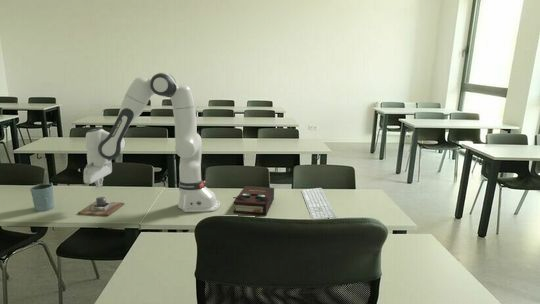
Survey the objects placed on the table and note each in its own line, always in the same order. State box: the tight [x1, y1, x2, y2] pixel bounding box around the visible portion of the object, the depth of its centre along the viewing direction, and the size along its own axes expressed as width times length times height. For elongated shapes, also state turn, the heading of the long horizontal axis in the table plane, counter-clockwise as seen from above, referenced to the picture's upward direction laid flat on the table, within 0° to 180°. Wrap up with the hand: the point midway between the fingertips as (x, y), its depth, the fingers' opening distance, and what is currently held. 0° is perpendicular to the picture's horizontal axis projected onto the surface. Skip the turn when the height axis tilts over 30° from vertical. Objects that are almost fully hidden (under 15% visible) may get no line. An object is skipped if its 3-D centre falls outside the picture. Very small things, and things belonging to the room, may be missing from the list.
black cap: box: [95, 196, 107, 207], centre depth 196 cm, size 4×4×5 cm
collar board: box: [77, 200, 125, 217], centre depth 196 cm, size 16×16×2 cm
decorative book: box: [233, 185, 275, 217], centre depth 204 cm, size 19×8×30 cm
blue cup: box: [29, 183, 55, 212], centre depth 196 cm, size 10×10×12 cm
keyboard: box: [300, 187, 338, 220], centre depth 208 cm, size 44×12×2 cm, turn 3°
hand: (99, 186), depth 194 cm, fingers closed
